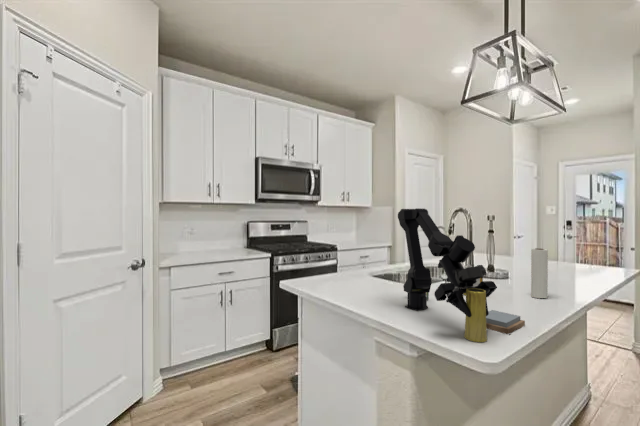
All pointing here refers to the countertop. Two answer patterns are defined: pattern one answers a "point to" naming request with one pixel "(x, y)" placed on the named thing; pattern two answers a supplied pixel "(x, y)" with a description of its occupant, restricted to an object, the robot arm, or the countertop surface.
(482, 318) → the vase
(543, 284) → the grey cylinder
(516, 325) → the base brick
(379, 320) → the countertop surface
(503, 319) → the top brick
